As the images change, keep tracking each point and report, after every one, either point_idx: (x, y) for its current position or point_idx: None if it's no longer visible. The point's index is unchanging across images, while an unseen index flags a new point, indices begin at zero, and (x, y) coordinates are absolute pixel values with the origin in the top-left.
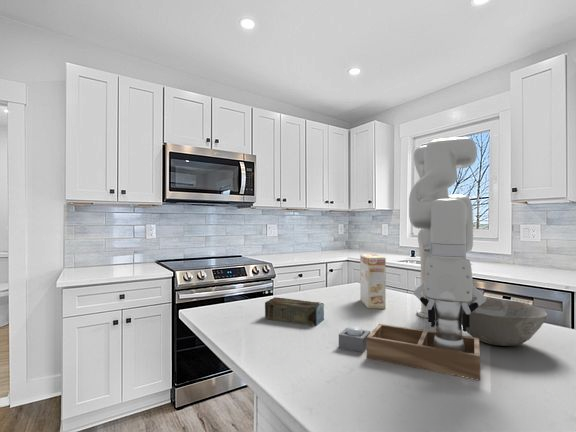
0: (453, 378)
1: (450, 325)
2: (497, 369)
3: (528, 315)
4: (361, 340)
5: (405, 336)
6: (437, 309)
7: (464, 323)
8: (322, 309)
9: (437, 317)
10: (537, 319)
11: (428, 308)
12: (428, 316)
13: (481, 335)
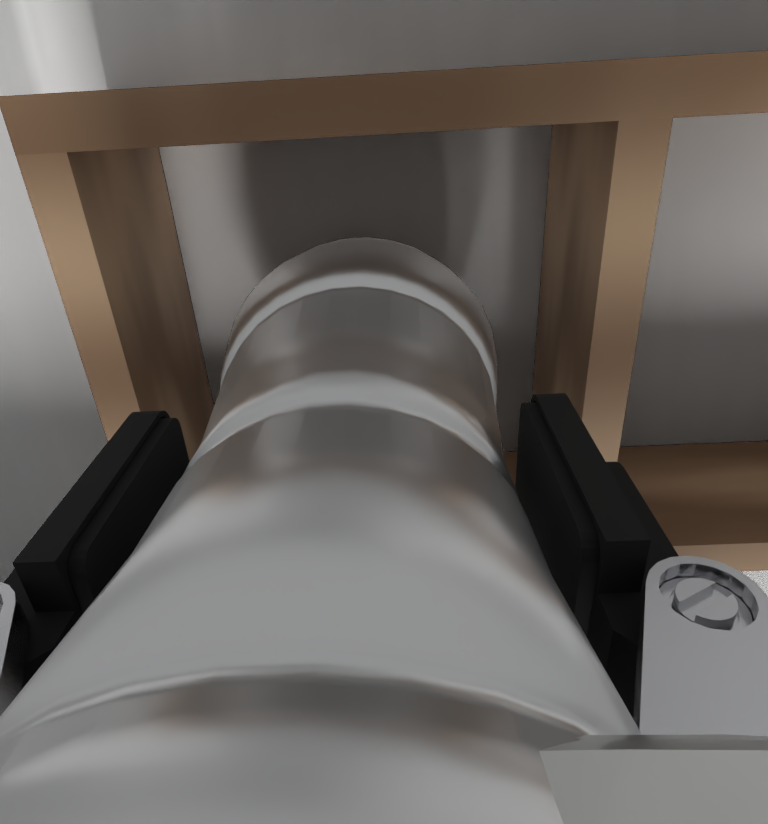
0: (289, 5)
1: (297, 375)
2: (69, 378)
3: None
4: None
5: (729, 495)
6: (529, 552)
7: (108, 461)
8: None
9: (500, 478)
10: None
11: (703, 588)
12: (638, 503)
13: None
